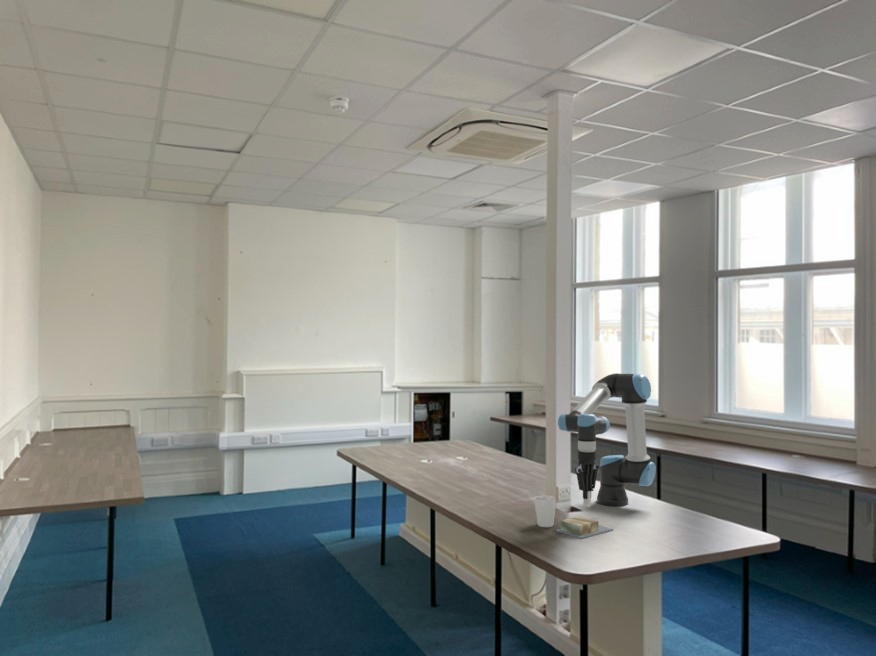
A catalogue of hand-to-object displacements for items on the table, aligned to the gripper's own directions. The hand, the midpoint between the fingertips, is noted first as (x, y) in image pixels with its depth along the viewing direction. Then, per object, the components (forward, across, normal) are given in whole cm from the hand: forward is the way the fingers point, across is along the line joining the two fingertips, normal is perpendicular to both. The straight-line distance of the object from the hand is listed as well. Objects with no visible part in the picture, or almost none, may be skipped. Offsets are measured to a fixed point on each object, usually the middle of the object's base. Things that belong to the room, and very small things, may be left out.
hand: (587, 506), depth 281 cm
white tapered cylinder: (+10, +9, -16) cm, 21 cm away
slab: (+7, -1, 0) cm, 8 cm away
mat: (+10, +2, 0) cm, 10 cm away
